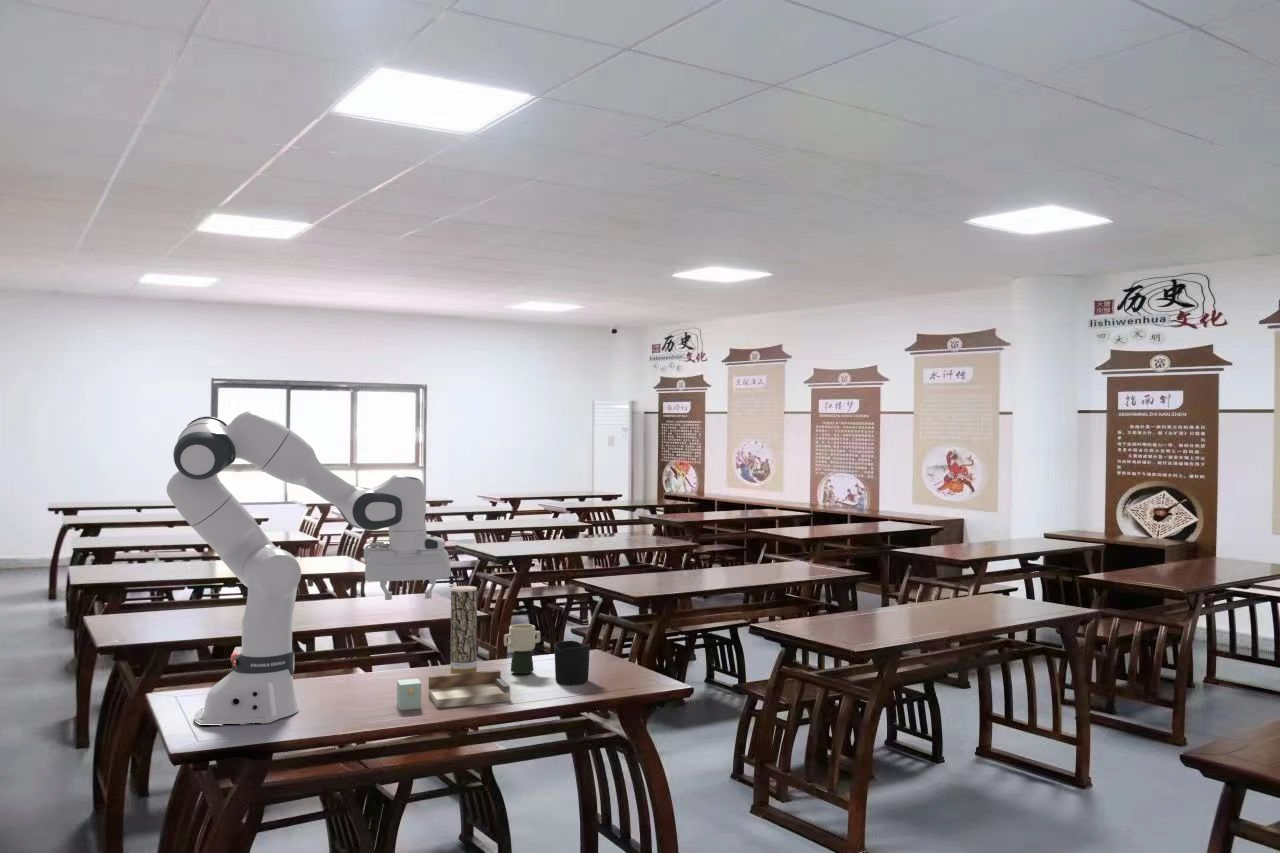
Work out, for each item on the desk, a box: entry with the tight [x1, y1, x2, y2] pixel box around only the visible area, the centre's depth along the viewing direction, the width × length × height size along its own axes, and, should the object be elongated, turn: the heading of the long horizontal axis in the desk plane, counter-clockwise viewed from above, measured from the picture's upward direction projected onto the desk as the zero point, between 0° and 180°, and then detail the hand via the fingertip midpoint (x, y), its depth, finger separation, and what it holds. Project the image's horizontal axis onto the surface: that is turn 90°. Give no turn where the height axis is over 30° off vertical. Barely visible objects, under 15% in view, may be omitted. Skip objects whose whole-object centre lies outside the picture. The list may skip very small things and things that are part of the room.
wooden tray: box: [428, 669, 511, 709], centre depth 240 cm, size 18×12×5 cm, turn 112°
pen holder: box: [553, 640, 591, 686], centre depth 258 cm, size 9×9×10 cm
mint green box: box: [396, 678, 422, 711], centre depth 232 cm, size 5×6×6 cm
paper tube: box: [450, 585, 478, 674], centre depth 257 cm, size 7×7×25 cm
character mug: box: [503, 623, 541, 675], centre depth 267 cm, size 11×7×13 cm, turn 121°
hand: (408, 598), depth 234 cm, fingers open, 8 cm apart
